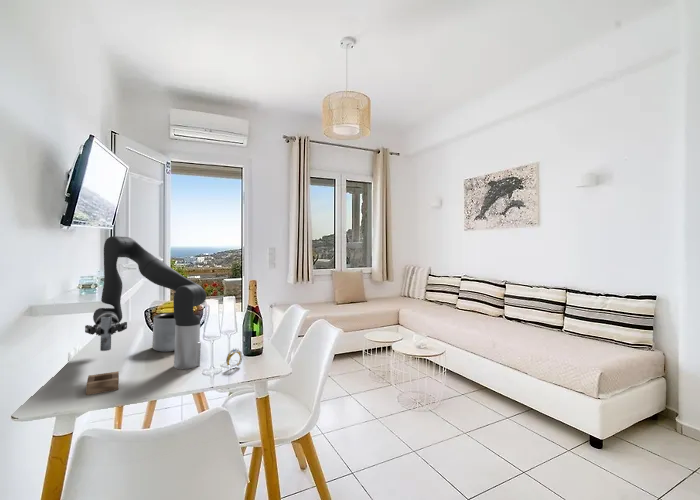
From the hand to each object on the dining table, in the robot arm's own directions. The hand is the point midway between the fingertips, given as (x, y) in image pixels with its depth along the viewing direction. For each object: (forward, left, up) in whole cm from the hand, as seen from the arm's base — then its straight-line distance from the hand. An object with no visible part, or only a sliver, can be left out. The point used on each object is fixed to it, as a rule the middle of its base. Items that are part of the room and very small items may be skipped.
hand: (106, 332), depth 123 cm
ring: (-43, +11, -17) cm, 48 cm away
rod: (0, -3, -7) cm, 8 cm away
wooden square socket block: (0, +9, -17) cm, 19 cm away
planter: (-25, -31, -17) cm, 44 cm away
